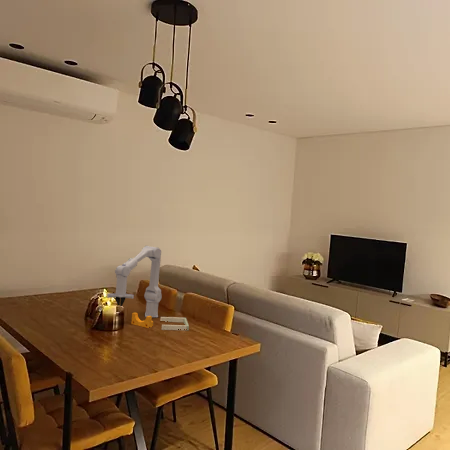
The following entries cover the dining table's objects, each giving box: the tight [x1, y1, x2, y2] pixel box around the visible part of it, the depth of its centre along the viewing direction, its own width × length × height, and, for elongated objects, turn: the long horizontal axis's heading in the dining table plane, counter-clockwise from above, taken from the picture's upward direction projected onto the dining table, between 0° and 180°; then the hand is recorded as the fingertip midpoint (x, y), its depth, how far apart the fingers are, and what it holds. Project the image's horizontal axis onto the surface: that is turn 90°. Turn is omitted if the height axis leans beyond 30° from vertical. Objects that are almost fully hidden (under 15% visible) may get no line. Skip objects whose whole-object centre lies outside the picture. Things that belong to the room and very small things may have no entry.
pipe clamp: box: [130, 312, 154, 329], centre depth 246 cm, size 12×4×6 cm, turn 64°
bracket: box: [159, 316, 190, 331], centre depth 251 cm, size 17×15×2 cm
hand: (119, 310), depth 244 cm, fingers closed
